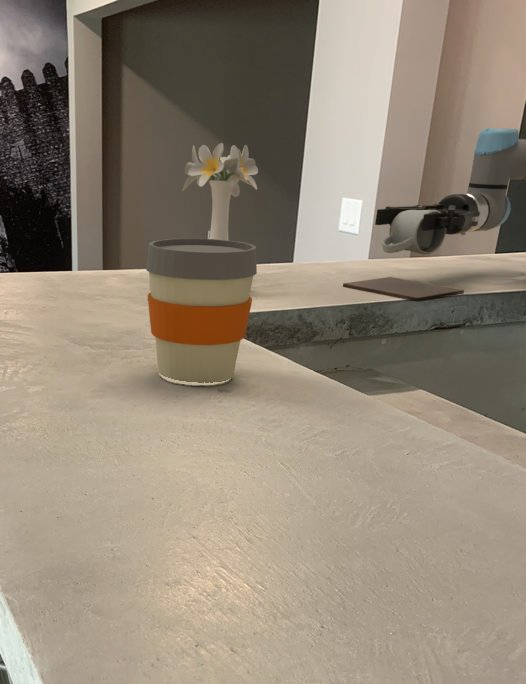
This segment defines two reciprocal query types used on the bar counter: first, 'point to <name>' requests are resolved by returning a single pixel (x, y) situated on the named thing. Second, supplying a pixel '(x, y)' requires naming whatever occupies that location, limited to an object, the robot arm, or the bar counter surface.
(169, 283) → the reusable coffee cup
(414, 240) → the ceramic mug
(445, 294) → the placemat
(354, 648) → the bar counter surface
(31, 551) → the bar counter surface
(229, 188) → the flower vase
